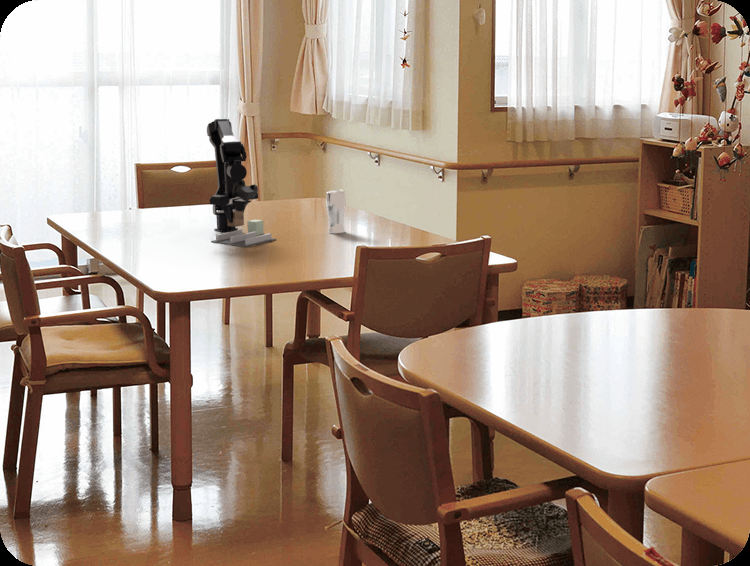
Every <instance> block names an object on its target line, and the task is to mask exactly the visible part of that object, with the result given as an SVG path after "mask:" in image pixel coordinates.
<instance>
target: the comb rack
mask: <svg viewBox="0 0 750 566" xmlns="http://www.w3.org/2000/svg"><path fill="white" fill-rule="evenodd" d="M274 241H277V238H274V237H273V238H272V233H265V234H261V235H256V232H250V233H248V232H246V233H243V229H237V230H232V231H228V232H223V233H219V234H215V239H214V240H210V243H214V244H221V245H229V246H235V247H236V246H237V247H240V248H249V247H253V246H258V245H261V244H265V243H266V244H267V243H270V242H274Z"/></svg>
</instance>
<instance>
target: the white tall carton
mask: <svg viewBox="0 0 750 566" xmlns="http://www.w3.org/2000/svg"><path fill="white" fill-rule="evenodd" d="M325 195H326V196H325V206H326V213H327V218H328V229H327V230H328V231H327V233H328V234H332V235H339V234H345V233H346V229H345V225H344V220H345V212H346V194H345V190H342V189H333V190H332V189H331V190H326V194H325Z"/></svg>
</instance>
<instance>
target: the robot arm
mask: <svg viewBox="0 0 750 566" xmlns="http://www.w3.org/2000/svg"><path fill="white" fill-rule="evenodd" d="M206 134H207V137H208V139H209V142H210V144H211V145H212V147H213V148H214V157H215V167H216V176H217V177H216V178H217V189H216V192H215V193H214V195H211V196H210V197H209V204H210V205H212V214H213V215H214V216H215V217H216V228H214V229H213V230H214V231H217V232H223V233H227V232H232V231H236V230H239V228H238V227H233V226H228V221H227V219H228V220H229V222H230V223H233V210H239V211H243V213H245V210H246V207H247V206H248V204H250V203H251V202H252V201H253V200H257V199H259V192H258V191H259V189H258V187H259V186H258V185H257V184H255V183H253V184H251V185H246V182H245V178H246V177H247V175H248V173H247V172H248V171H247V168H246V166H245V165H243V163H242V162H246V161H247V151H246V148H245V146H244V144H243V143H242V142H241V140H240V138H239V137H236V136H235V135H234V133H233V128H232V122H231V121H230V118H227V117H222V118H221V117H220V118H219V117H218V118H216V119H214V120H213V121H212V122H209V123H208V124H207V126H206Z"/></svg>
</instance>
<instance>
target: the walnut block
mask: <svg viewBox="0 0 750 566" xmlns="http://www.w3.org/2000/svg"><path fill="white" fill-rule="evenodd" d="M244 213H245V212H244ZM244 213H243V211H239V210H233V223H230V222H229V220H228V219H227V221H228V226H233V227H236V228H238V227H242V226H244V225H245V221H244V220H245V218H244V216H245V215H244Z"/></svg>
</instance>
